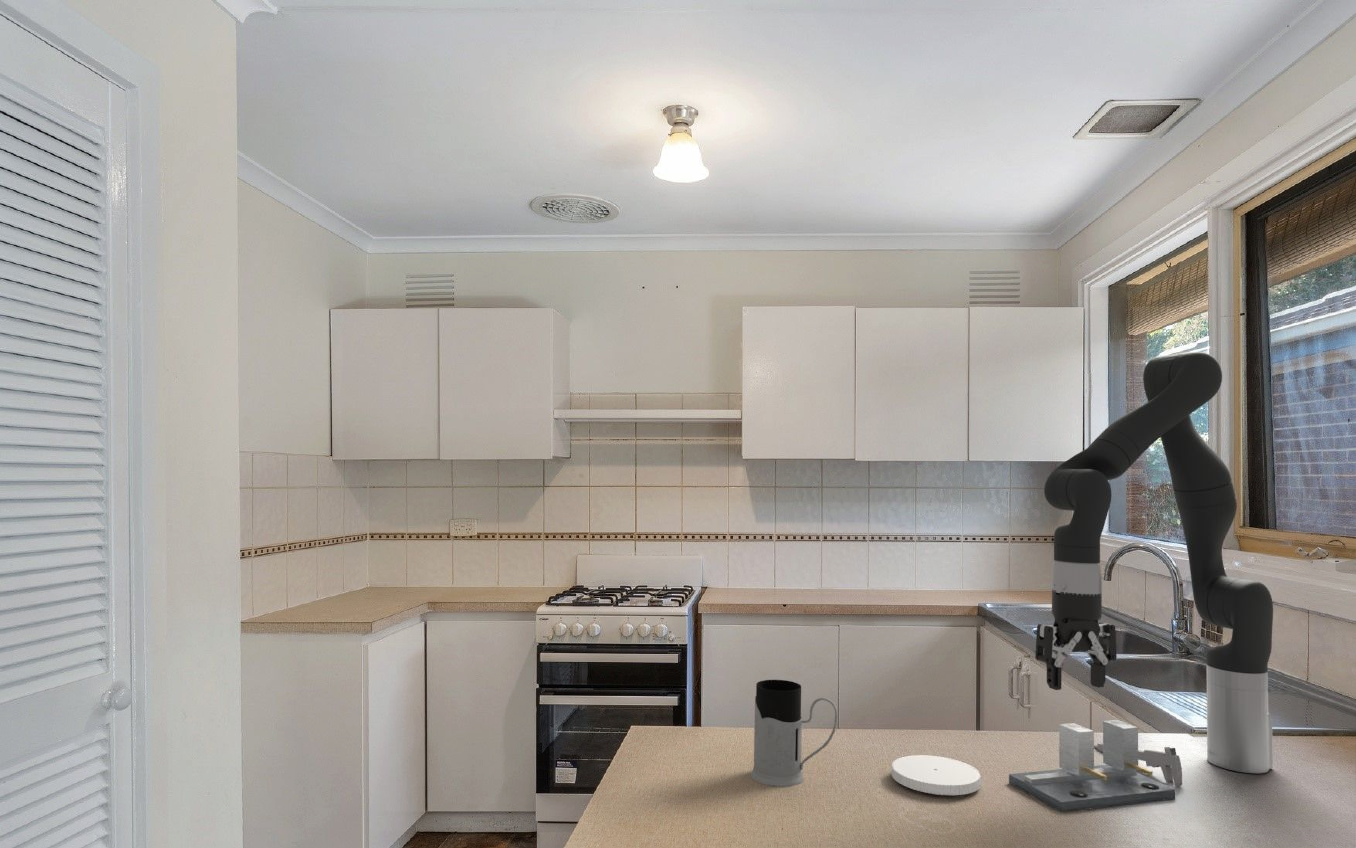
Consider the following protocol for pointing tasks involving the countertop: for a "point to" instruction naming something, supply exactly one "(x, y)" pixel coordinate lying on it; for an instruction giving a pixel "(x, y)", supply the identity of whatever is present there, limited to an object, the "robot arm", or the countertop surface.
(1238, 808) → the countertop surface
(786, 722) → the glass holder
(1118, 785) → the hole plate
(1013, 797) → the countertop surface
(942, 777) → the plastic lid
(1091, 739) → the leg
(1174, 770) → the caliper
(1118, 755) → the fixed leg
